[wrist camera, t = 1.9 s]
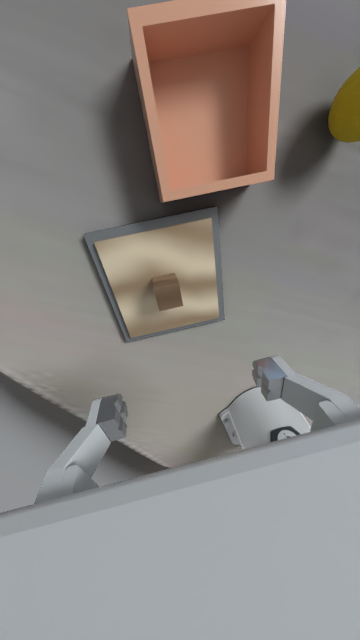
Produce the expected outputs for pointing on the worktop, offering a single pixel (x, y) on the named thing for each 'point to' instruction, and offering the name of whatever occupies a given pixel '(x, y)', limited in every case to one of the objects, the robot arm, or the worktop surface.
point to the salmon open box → (209, 91)
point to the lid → (163, 276)
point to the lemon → (346, 111)
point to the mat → (151, 225)
